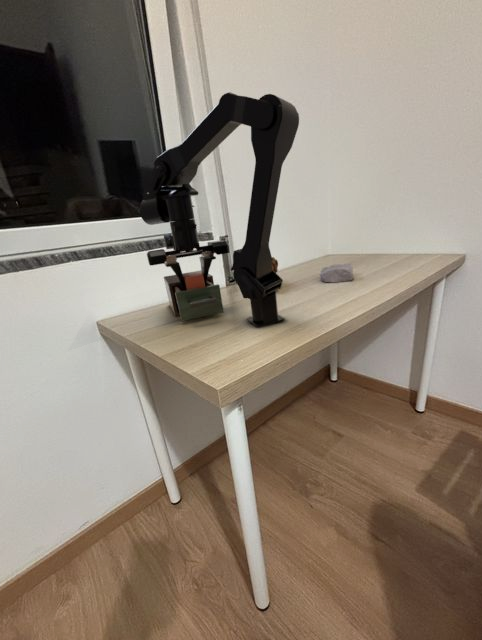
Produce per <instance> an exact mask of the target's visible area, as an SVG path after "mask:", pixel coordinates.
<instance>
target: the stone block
mask: <svg viewBox="0 0 482 640" xmlns="http://www.w3.org/2000/svg"><path fill="white" fill-rule="evenodd" d="M353 271H354V270H353V266H352V265H351V263H348V264H347V263H345V264H332V265H329V266H326V267H323V268H322V269H321V271H320V272H319V276H320V280H321V282H323V283H340V282H350V281H352V280H353V274H354V273H353Z"/></svg>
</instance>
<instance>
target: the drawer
mask: <svg viewBox="0 0 482 640" xmlns="http://www.w3.org/2000/svg"><path fill="white" fill-rule="evenodd" d="M173 289H174V293H175V298H176V303H177V307H178V309H179V313H180V315H179V317H180V321H181V322H185V321H189V320H195V319H199V318H203V317H208V316H213V315H217V314H222V313H224V306H223V300H222V294H221V287H220V284H219V283H217V284H215V283H214V284H212V283H211V282H209V281H208V280H207V282H206V287H201V288H195V289H190V290H184V288H183V287H182V285H177V286H173Z"/></svg>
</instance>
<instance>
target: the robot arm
mask: <svg viewBox="0 0 482 640" xmlns="http://www.w3.org/2000/svg"><path fill="white" fill-rule="evenodd" d="M241 125H244V126H247V127H250V141H251V145H252V149H253V154H254V159H255V165H254V171H253V179H252V185H251V186H252V188H251V195H250V196H251V197H250V202H249V210H248V219H247V225H246V226H247V227H246V233H245V234H246V235H245V241H244V244H243V246H242V247H241V248H239V249H235V250H233V253H232V266H231V268H230V271H231V272H232V278H233V281H234V282H235V283H236V285H237V287H238V289H239V292H240V293H241V295H242V297H243V299H248V300H249V301H250V310H251V316H248V317H247V321H248V322H250V323H251V324H252V325H253V326H255V327H257V328H259V327H264V326H268V325H273V324H277V323H282V322H285V318H284V317H282V316H281V315H279V310H278V299H277V298H278V297H277V291H278V290H281V289H282V286H283V282H284V280H283V278H282V277H280V275H279V274H278V273H277V272H276V273H275V272H274V271H273V270H272V257H273V256H272V254H271V253H272V252H271V250H270V238H271V232H272V226H273V221H274V216H275V209H276V204H277V198H278V192H279V185H280V179H281V173H282V168H283V164H284V162H285V160H286V158H288V155H289V153H290V151H291V150H292V147H293V144H294V142H295V138H296V135H297V132H298V129H299V125H300V114H299V112H298V111H297V108H296V106H295V105H293V104H292V103H291V102H289V101H287V100H285V99H283V98H281V97H279V96H277V95H275V94H272V93H268V94H267V93H266V94H264V95H262V96H260V98H259V99H258V98H255V97H249V96H245V95H238V94H236V93H233V92H231V91H230V92H226V93H223V94H222V95H221V97H220V98H219V100H218V103H217V104H216V105H215V106H214V107H213V109H211V111H210V112H208V114H207V115H206V116H205V117H204V118H203V120H201V121H200V122H199V124H198V125H197V126H196V127H195V128H194V129H193V130H192V131H191V132H190V134H189V135H188V136H187V137H186V138H185V139H184V140H183V141H182V142H181V143H180V144H178V145H177V146H174V147H172V148H169V149H167V150H164V152H162V153H161V154H160V155H158V156H157V157H156V158H155V160H154V162H153V166H154V167H153V171H152V174H151V175H152V176H151V180H150V184H149V190H148V192H145V193H142V198H143V199H142V201H141V202H140V205H139V211H138V212H139V215H140V218H141V219H142V221H143V222H144V223H145V224H147V225H149V226H153V225H160V224H161V225H162V224H168V223H169V226H170V230H171V233H166V234H165V233H164V234H163V241H164V246H165V248H166V250H168V251H165V249H163V248H160V249H155V250H148V251H147V253H146V257H147V258H146V259H147V262H148V265H149V266H158V265H164V266H165V267H166V268H170V269H171V270H172V271H173V273H174V275H177V277H178V279H179V281H180V283H181V285H182V287H183V288H184V290H186V284H185V281H184V278H183V271H182V268H181V264H180V262H179V261H177V260H178V259H180V258H186V257H192V256H193V257H195V256H199V255H200V256H199V262H200V270H201V273H202V274H203V277H204V282H205V287H206V282H207V277H208V274H209V272H210V268H211V265H212V262H213V260H216V259H217V257H216V256H219V255H226V254H230V245H229V243H228V242H227V241H226V240H213V241H207V244H206V245H202V246H200V241H199V236H198V230H197V224H196V218H195V211H194V205H193V201H192V197H195V196H198V195H199V191H198V190H197V189H195V188H194V187H193V186H192V185H191V182H192V181H193V179H194V178H195V177H196V175H197V173H198V169H199V166H200V165H201V164H202V162H203V161H204V160H205V159H206V158H207V157H209V155H211V153H212V152H214V151H215V150H216V148H218V147H219V146H220V145H221V144H222V143H223V142H224V141H225V140H226V139H227V138H228V137H229V136H231V134H232V133H233V132H234V131H235V130H236V129H238V127H240V126H241ZM171 249H173V250H171ZM214 254H216V256H215V255H214Z"/></svg>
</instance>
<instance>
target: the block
mask: <svg viewBox="0 0 482 640" xmlns="http://www.w3.org/2000/svg"><path fill="white" fill-rule="evenodd" d="M183 278H184V281H185V284H186V290H190V289H195V288H201V287H205V282H204V277H203V274H201V273H200V272H199V273H193V274H187V275H183Z"/></svg>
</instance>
